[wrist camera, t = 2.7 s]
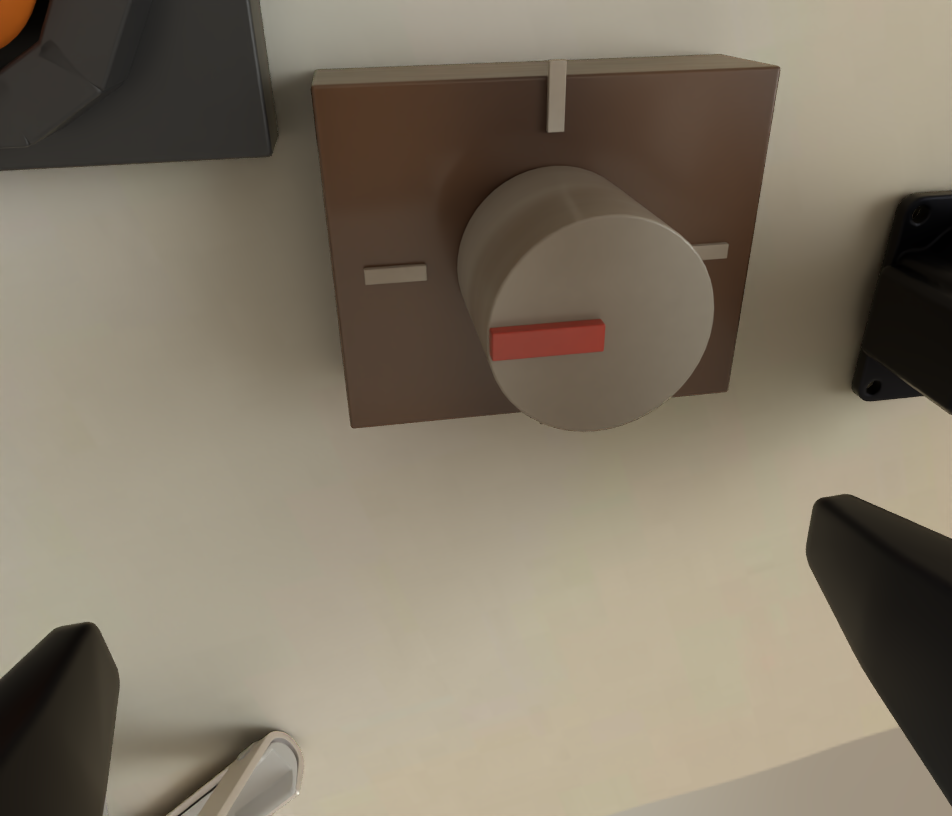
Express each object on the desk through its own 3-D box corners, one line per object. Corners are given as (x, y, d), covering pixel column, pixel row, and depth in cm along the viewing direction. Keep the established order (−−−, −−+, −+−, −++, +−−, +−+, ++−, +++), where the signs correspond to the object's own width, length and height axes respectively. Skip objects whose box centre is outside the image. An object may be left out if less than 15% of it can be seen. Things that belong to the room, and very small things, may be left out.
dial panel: (723, 40, 19) (788, 51, 16) (683, 355, 23) (729, 405, 20) (312, 54, 18) (308, 69, 15) (350, 385, 22) (352, 443, 19)
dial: (650, 160, 17) (738, 211, 13) (634, 340, 19) (705, 428, 15) (453, 170, 16) (488, 228, 13) (459, 356, 19) (490, 451, 15)
